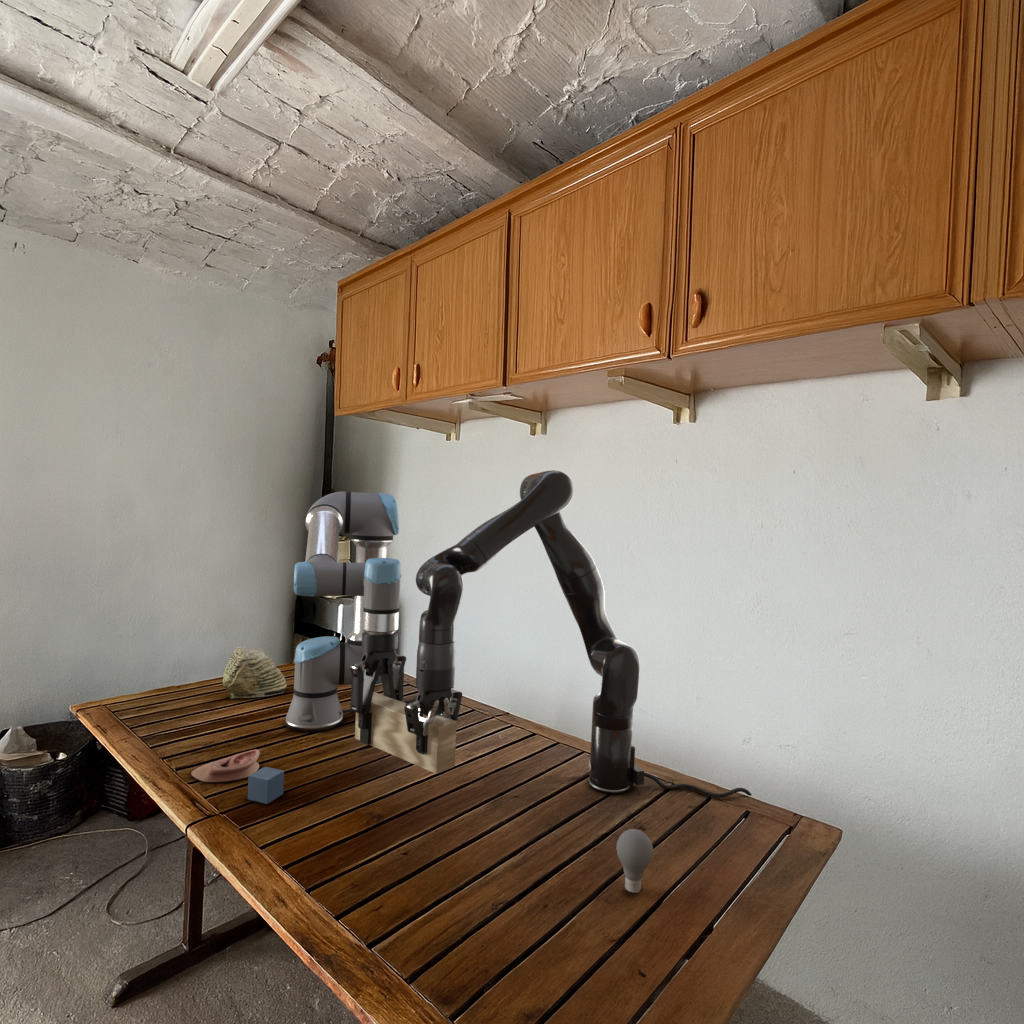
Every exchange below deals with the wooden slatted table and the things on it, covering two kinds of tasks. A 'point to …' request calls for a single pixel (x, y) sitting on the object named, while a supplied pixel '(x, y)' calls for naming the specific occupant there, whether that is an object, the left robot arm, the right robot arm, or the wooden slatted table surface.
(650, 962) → the wooden slatted table surface
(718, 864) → the wooden slatted table surface
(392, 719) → the ash bar
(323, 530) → the left robot arm
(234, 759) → the anatomical model
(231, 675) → the fossil
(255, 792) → the slate blue block
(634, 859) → the light bulb
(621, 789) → the right robot arm
